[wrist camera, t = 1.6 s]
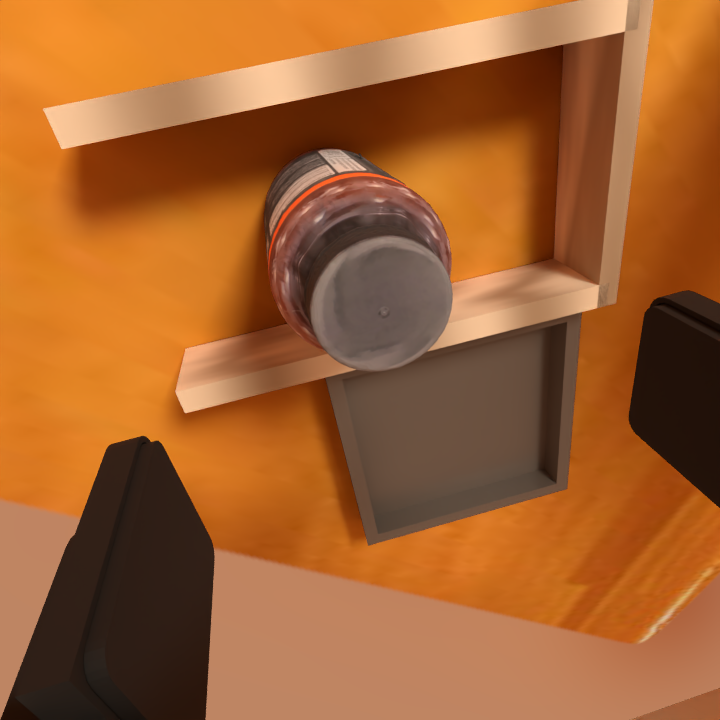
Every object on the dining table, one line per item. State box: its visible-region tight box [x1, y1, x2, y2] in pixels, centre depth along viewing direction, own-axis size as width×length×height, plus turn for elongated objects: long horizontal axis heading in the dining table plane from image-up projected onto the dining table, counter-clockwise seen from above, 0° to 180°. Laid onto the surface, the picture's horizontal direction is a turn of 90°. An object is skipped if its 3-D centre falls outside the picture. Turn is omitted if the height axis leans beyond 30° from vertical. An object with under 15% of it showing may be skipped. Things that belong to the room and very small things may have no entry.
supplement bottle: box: [264, 148, 453, 372], centre depth 18 cm, size 6×6×11 cm
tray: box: [326, 312, 582, 546], centre depth 29 cm, size 14×14×2 cm
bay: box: [43, 0, 654, 413], centre depth 21 cm, size 21×12×4 cm, turn 100°
